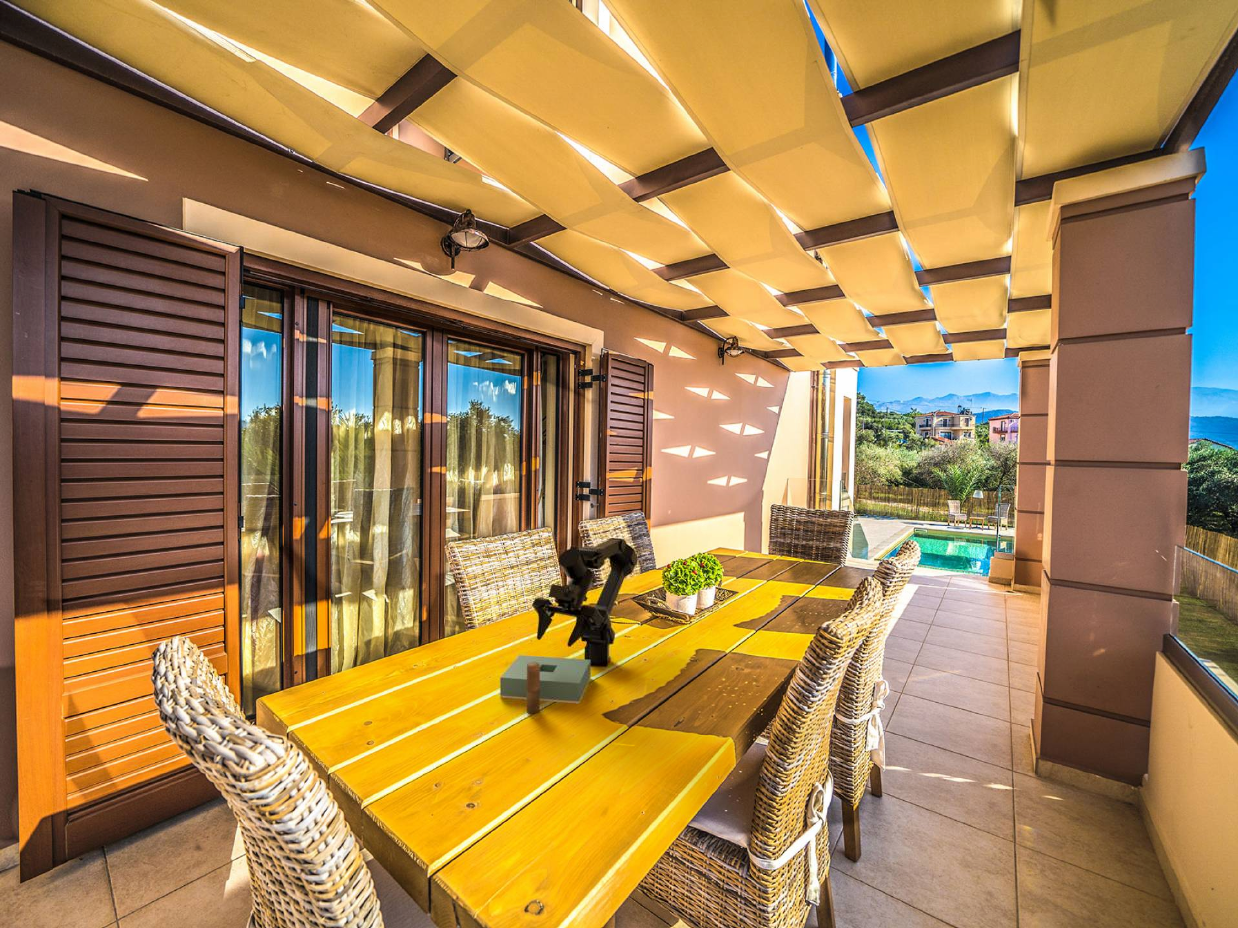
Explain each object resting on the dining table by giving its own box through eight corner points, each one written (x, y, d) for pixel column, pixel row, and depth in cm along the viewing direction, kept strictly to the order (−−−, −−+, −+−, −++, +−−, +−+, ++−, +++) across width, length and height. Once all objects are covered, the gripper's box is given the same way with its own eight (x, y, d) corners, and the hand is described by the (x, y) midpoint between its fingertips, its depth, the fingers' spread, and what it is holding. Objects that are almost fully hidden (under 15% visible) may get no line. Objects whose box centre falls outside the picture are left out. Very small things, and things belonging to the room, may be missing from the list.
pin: (541, 708, 120) (541, 662, 120) (537, 714, 117) (537, 667, 117) (528, 707, 121) (529, 661, 120) (524, 713, 118) (525, 666, 117)
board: (590, 678, 136) (590, 659, 136) (579, 703, 122) (579, 683, 122) (519, 672, 139) (519, 654, 139) (500, 697, 125) (500, 677, 125)
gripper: (536, 567, 134) (508, 620, 125) (596, 575, 126) (572, 633, 116) (553, 589, 142) (528, 641, 132) (611, 599, 133) (589, 655, 123)
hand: (553, 642), depth 126 cm, fingers open, 9 cm apart
